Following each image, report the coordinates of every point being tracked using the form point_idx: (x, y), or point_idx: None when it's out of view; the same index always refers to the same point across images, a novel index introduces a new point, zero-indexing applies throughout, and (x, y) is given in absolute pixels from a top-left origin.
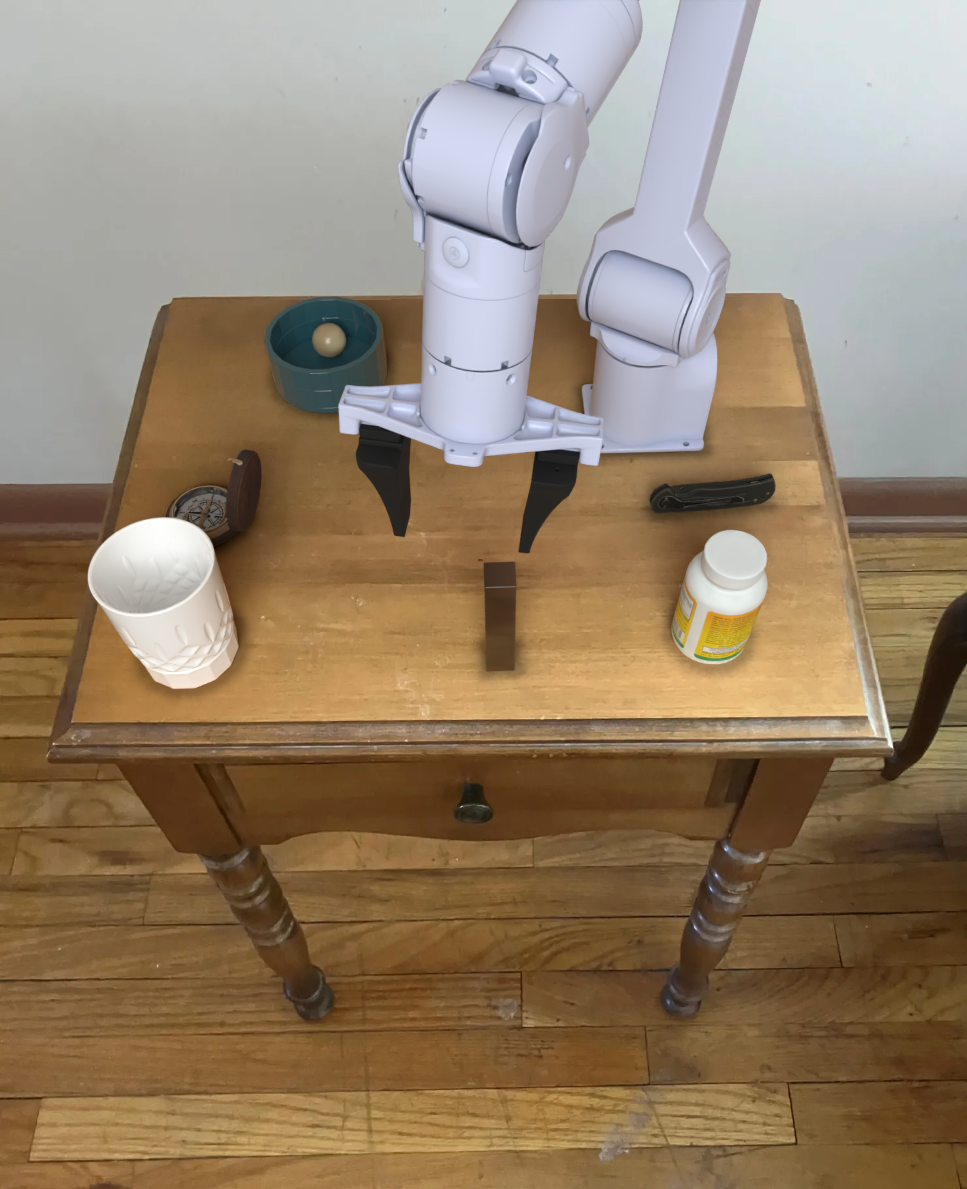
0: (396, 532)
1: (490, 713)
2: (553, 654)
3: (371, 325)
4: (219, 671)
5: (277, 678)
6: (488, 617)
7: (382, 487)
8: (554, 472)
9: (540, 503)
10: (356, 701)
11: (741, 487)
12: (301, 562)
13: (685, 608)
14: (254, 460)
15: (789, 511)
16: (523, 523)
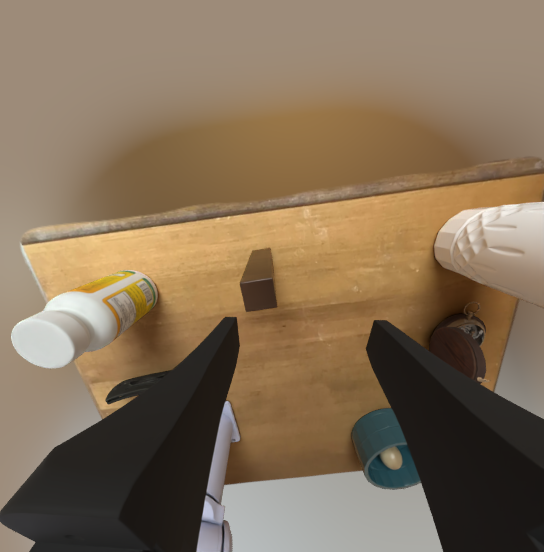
0: (388, 324)
1: (263, 216)
2: (229, 266)
3: (368, 470)
4: (449, 223)
5: (406, 226)
6: (268, 264)
7: (493, 402)
8: (74, 532)
9: (161, 403)
10: (352, 214)
11: (126, 392)
12: (394, 312)
13: (124, 298)
14: None
15: (107, 377)
16: (226, 353)
